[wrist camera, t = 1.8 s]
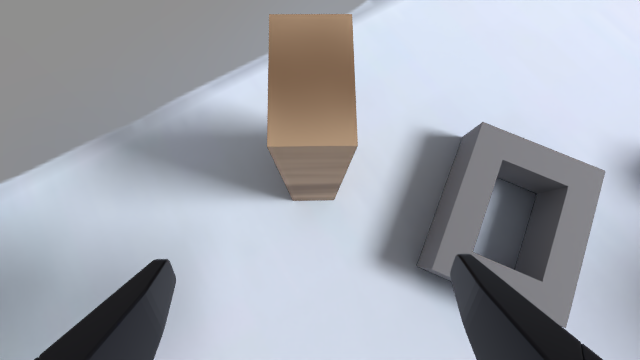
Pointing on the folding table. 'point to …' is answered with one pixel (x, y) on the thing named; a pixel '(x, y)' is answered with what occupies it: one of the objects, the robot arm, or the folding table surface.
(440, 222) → the gray block with hole
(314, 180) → the slat
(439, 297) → the folding table surface
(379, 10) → the folding table surface
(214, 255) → the folding table surface
